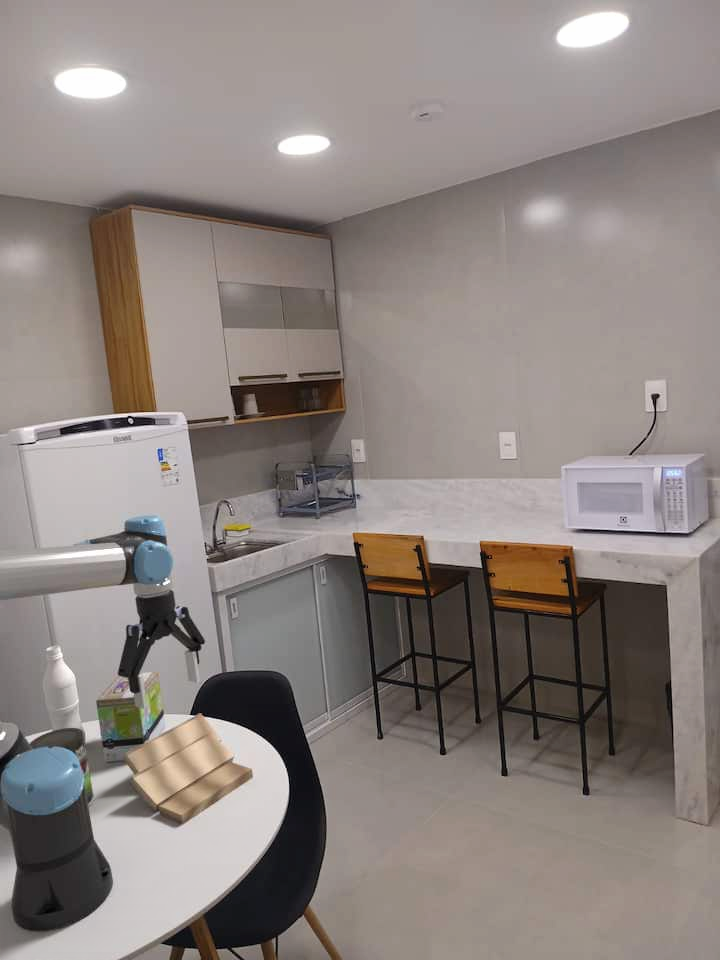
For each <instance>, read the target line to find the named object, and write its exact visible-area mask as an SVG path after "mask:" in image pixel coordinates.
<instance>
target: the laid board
mask: <svg viewBox="0 0 720 960" xmlns="http://www.w3.org/2000/svg"><path fill="white" fill-rule="evenodd" d="M253 778H254V774H253V769H252V768H251V767H247V766H245V765H242V764H238V763H235V762H230V761H228V762H226V763H224V764H223V765H221V766H220V767H218V768H216V769H215V770H213V771H212V772H210V773H208V774H207V775H205V776H204V777H202V778H200V779H199V780H197V781H196V782H194V783H192V784H191V785H189V786H188V787H186V788H185V789H183V790H181V791H180V792H178V793H177V794H175V795H173V796H172V797H170V798H169V799H167V800H165V801H164V802H162V803H161V804H159V805H158V808H159V809H158V813H159V815H160V816H162V817H165V818H167V819H170V820H173V821H174V822H177V823H178V824H182V825H184V824H185V823H187V822H189V821H190V820H192V819H193V818H194V817H196V816H198V815H199V814H200V813H202V812H204V811H205V810H206V809H207V808H210V807H211V806H212V805H214V804H216V802H218V801H220V800H221V799H222V798H224V797H226V796H227V795H228V794H230V793H231V792H233V791H234V790H236V789H238V788H239V787H240V786H242V785H243V784H245V783H247V782H248V781H249V780H251V779H253Z"/></svg>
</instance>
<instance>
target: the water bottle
mask: <svg viewBox="0 0 720 960" xmlns="http://www.w3.org/2000/svg"><path fill="white" fill-rule="evenodd" d="M61 650H62V649H61V646H60V645H52V646H50V647H47V648H46V649H45V651H46V659H45V660H46V661H47V667H46V670H45V672H44V675H43V679H42V683H41V684H42V686H41V687H42V689H43V694H44V699H45V707H46V710H47V713H48V715H49V718H50V722H51V727H52V729H51V730H52V731H55V730H59V729H64V728H78V729H81V730H82V731H83V735H84V737H83V738H84V744H86V741H87V740H86V739H87V737H86V731H85V729H84V727H83V724H82V721H81V716H80V710H79V709H80V708H79V703H80V699H79V694H78V693H79V692H78V689H77V683H76V679H77V678H76V676H75V674H74V672H73V671H72V670H71V668H69V666H68V665H67V664H66V663H65V662H64V659H63V657H64V655H63V653H62V651H61Z"/></svg>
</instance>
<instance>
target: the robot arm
mask: <svg viewBox="0 0 720 960" xmlns="http://www.w3.org/2000/svg"><path fill="white" fill-rule="evenodd" d="M123 530H124V531H122V532H119V533H113V534H111V535H109V534H108V535H105V536H100V537H95V538H92V539H85V540H84V541H81V542H78V543H74V544H72V545H65V546H63V545H62V546H53V547H52V546H51V547H37V548H24V549H11V550H0V601H9V600H14V599H16V600H17V599H22V598H30V597H38V596H47V595H54V594H61V593H68V592H78V591H84V590H92V589H98V588H106V587H113V586H114V587H116V586H125V585H131V584H132V585H133V586H132V587H133V593H134V595H136V597H135V598H134V599H135V605H136V612H137V614H138V618H139V623H137V624H127V625H126V626H125V632H126V633H125V634H126V637H125V641H124V646H123V650H122V654H121V657H120V662H119V667H118V671H117V675H118V676H121V677H126V678H128V681H129V687H130V691H131V693H134V699H135V706H136V707H140V708H143V709H145V708H147V702H146V695H145V688H144V681H143V675H139V673H141V671H142V668H143V666H144V664H145V661H146V659H147V657H148V654H149V652H150V650H151V647H152V646H153V645H154V644H155V643H156V641H159V640H162V638H164V637H168V636H172V637H173V638H174V639H176V641H178V642H179V643H180V644H181V645H183V646H185V648H186V649H187V650H185V651H184V657H185V665H186V673H187V679H188V682H193V683H200V682H201V680H200V679H201V678H200V674H199V673H200V671H199V666H198V665H200V655H199V652H200V651H202V645H205V643H206V640H205V638H204V637H203V635H202V634H201V632H200V630H199V628H198V627H197V625H196V624H195V622H194V620H193V619H192V617H191V615H190V612H189V609H188V607H187V606H180V605H179V606H178V605H177V606H176V599H175V592H174V591H173V589H172V588H173V587H174V585H173V579H172V571H173V566H174V557H173V553H172V551H171V550H170V548H169V547H168V541H167V536H168V535H167V534H166V529H165V524H164V521H163V518H162V517H161V516H159V515H156V514H154V515H153V514H149V515H140V516H135V517H131V518H129V519H126V520H125V521H124V528H123ZM177 619H178V621H179V623H180V624H181V626H182V627H183V629H184V630H185V632H186V633H187V634H186V633H185V632H184V631H183V630H182V629H181V627H179V626H178V624H177V623H176V621H177ZM118 676H117V677H118ZM89 807H90V806H89ZM89 807H88V801H87V795H86V789H85V780H84V773H83V770H82V769H81V765H80V762H79V759H78V757H77V756H76V755H75V754H74V753H73V752H72V751H70V750H68V749H65V748H62V747H53V748H50V749H49V748H48V747H42V748H37V749H33V748H32V747H31V745H30V742H29V741H28V740H27V738H26V737H25V736H24V734H23V733H22V731H21V730H20V728H19V727H18V725H16V724H15V723H13V722H2V721H1V720H0V826H2V827H3V828H5V829H6V830H8V832H9V834H10V838H11V842H12V844H11V845H12V848H13V853H14V858H15V864H16V871H15V878H14V883H13V890H12V894H11V895H12V896H11V900H10V901H11V902H10V903H11V910H12V911H11V912H12V916H13V917H12V918H13V920H14V921H13V922H15V924H16V926H18V927H19V928H21V929H23V930H25V931H31V932H46V931H50V930H56V929H59V928H62V927H65V926H68V925H70V924H73V923H75V922H77V921H80V920H81V919H83V918H84V917H86V916H88V915H89V914H90V913H91V914H92V912H94V911H95V910H97V909H98V908H99V907H100V906H101V905H102V904H103V902H104V901H105V900H106V899H107V897H108V896H109V895H110V893H111V891H112V890H113V886H114V885H113V884H114V879H113V874H112V873H113V872H112V869H111V865H110V863H109V861H108V859H107V858H106V856H105V855H104V852H103V851H102V850H101V848H100V847H99V845H98V843H97V841H96V840H95V838H94V837H95V836H94V833H93V832H94V831H93V826H92V821H91V820H92V819H91V815H90V809H89Z"/></svg>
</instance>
